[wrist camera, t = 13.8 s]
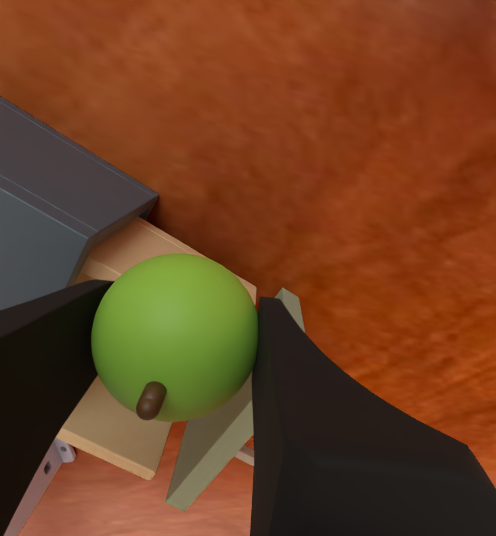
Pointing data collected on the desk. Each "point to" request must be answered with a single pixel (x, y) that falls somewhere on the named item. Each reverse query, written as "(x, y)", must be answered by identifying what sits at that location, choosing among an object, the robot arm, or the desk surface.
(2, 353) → the robot arm
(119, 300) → the apple
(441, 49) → the desk surface
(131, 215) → the cabinet
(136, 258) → the drawer
